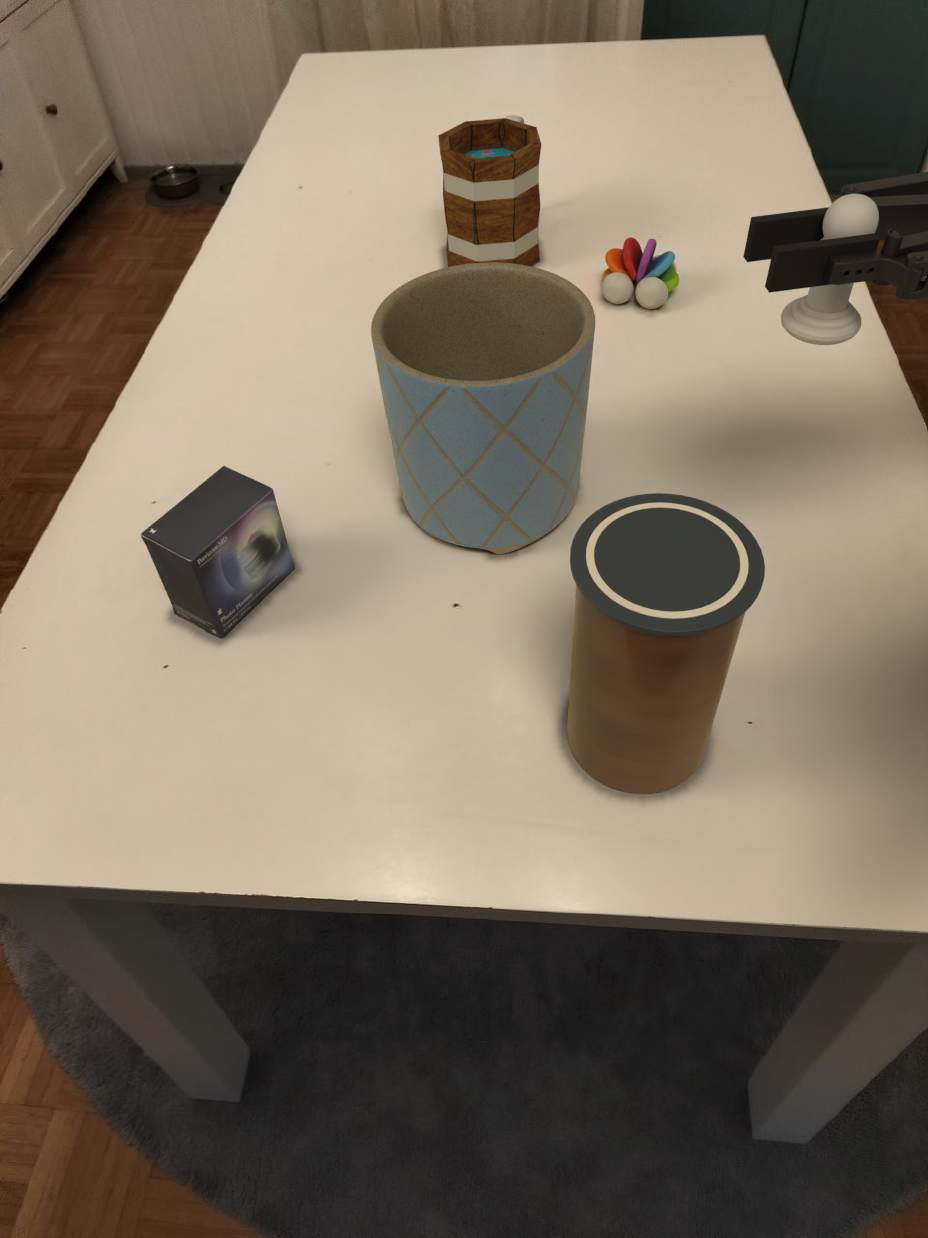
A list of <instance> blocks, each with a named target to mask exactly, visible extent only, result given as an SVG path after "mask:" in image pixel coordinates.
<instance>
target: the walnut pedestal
mask: <svg viewBox="0 0 928 1238" xmlns="http://www.w3.org/2000/svg"><path fill="white" fill-rule="evenodd" d="M574 598H575V600H574V613H573V630H572V643H571V644H572V646H571V659H570V660H571V661H570V677H569V691H568V694H569V695H568V706H567V707H568V709H567V723H566V724H567V727H566V735H567V737H566V738H567V742H568V746H569V748H570V751H571V753H572V755H573V757H574V759H575V761H576V762H577V763H578V764H579V766H580V767H581V769H582V770H583V771H585V773H587V774H588V775H589V776H590V777H591V778H593V779H594V780H596V781H597V782H599V783H600V784H601V785H604V786H607V787H609V788H610V789H613V790H616V791H619V792H623V793H628V794H638V795H646V794H648V795H649V794H656V793H657V794H658V793H661V792H665V791H668V790H671V789H673V788H675V787H678V786H679V785H681V784H682V783H684V782H685V781H686V780H688V779H689V778H691V776H692V775H693V774H694V773H695V771H697V769H698V767H699V766H700V765H701V762H702V760H703V758H704V755H705V751H706V748H707V745H708V741H709V738H710V735H711V731H712V729H713V728H712V727H713V725H714V721H715V718H716V715H717V714H716V713H717V710H718V708H719V703H720V701H721V697H722V694H723V690H724V686H725V683H726V680H727V677H728V676H727V675H728V673H729V670H730V666H731V663H732V660H733V656H734V652H735V649H736V646H737V642H738V639H739V635H740V632H741V629H742V625H743V622H744V619H745V616H746V612H745V613H744V614H743V615H741V616H740V617H739V618H737V619H736V620H734V621H733V622H731V623H729V624H727V625H725V626H723V627H720V628H718V629H715V630H712V631H708V632H704V633H701V634H694V635H684V636H668V635H657V634H651V633H646V632H642V631H638V630H635V629H632V628H629V627H627V626H624V625H621V624H619V623H617V622H615V621H613V620H611V619H610V618H608V617H607V616H605V615H604V614H602V613H601V612H599V611H598V610H597V609H596V608H595V607H593V606H592V605H591V604H590V603H589V602H588V601H587V600H586V598H585V597H584V596H583V595H582V593H581V592H580V590H579V589H578V587H577V585H576V584H575V596H574Z"/></svg>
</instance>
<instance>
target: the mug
mask: <svg viewBox="0 0 928 1238" xmlns="http://www.w3.org/2000/svg"><path fill="white" fill-rule="evenodd" d="M437 137H438V145H439V146H438V147H439V154H440V161H441V165H442V201H443V209H444V211H443V212H444V218H445V224H446V260H447V267H451V266H457V265H463V264H471V263H486V262H497V263H512V264H520V265H526V266H531V267H534V266H535V265H536V264H537V263H540V261H541V257H540V247H539V223H540V215H541V193H540V160H541V153H542V141H541V137H540V135H539V130H538V127H537V126H534V125H531V124H527V123H525V119H524V118H523V117H522V116H518V115H515V114H509V115H507V116H505V117H501V118H491V119H490V118H489V119H479V120H466V121H463V122H462V123H460V124H457V125H456V126H454V127H452V128H450V129H448V130H446V131H444V132H442V133H440V134H438V135H437Z"/></svg>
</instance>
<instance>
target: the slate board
mask: <svg viewBox="0 0 928 1238" xmlns="http://www.w3.org/2000/svg"><path fill="white" fill-rule="evenodd" d="M762 551H763V550H762V548H761V546H760V544H759V542H758V541H757V539H756V538H755V536H754V535H753V533H752V532H751V530H750V529H749V528H748V527H747V526H746V525H745V524H744V523H743V522H741V520H739V519H738V518H737V517H735V516H734V515H732V514H731V513H730V512H729V511H726V510H725V509H723V508H721V507H719V506H717V505H715V504H713V503H710V502H707V501H705V500H702V499H700V498H697V497H692V496H687V495H682V494H675V493H662V492H655V493H654V492H653V493H642V494H635V495H631V496H627V497H623V498H620V499H617V500H613V501H612V502H609V503H607V504H605V505H604V506H602V507H600V508H599V509H597V510H595V511H594V512H592V514H590V515H589V516H588V517H587V518H586V519H585V520H584V521H583V522H582V523H581V525H579V528H578V529H577V531H576V532H575V535H574V536H573V538H572V542H571V546H570V552H569V565H570V566H569V567H570V572H571V575H572V578H573V581H574V583H575V586H576V585H577V587H578V589H579V590H580V592H581V593H582V595H583V596H584V597H585V598H586V600H587V601H588V602H589V603H590V604H591V605H592V606H593V607H595V608H596V609H597V610H598V611H599V612H601V613H602V614H604V615H605V616H607V617H608V618H610V619H611V620H613V621H615V622H617V623H619V624H621V625H624V626H627V627H629V628H632V629H635V630H638V631H642V632H646V633H651V634H657V635H668V636H684V635H694V634H701V633H704V632H708V631H712V630H715V629H718V628H720V627H723V626H725V625H727V624H729V623H731V622H733V621H734V620H736V619H737V618H739V617H740V616H741V615H743V614H744V613H745V614H746V612H747V611H748V610H749V609H750V608H751V607H752V606H753V604H754V603H755V602H756V601H757V599H758V597H759V595H760V593H761V590H762V588H763V584H764V580H765V575H766V574H765V573H766V565H765V558H764V555H763V552H762Z"/></svg>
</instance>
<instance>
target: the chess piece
mask: <svg viewBox="0 0 928 1238" xmlns="http://www.w3.org/2000/svg"><path fill="white" fill-rule="evenodd" d="M839 197H840V196H839ZM839 197H838V198H837V199H835V200H834V201H833V202H832V203H831V204H830V206H828V207H829V208H828V210H827V212H826V214H825V216H824V220H823V234H824V237H823V239H821V240H826V239H834V238H842V237H850V236H858V235H865V234H873V233H875V231H876V229H877V226H878V221H879V212H878V208H877V206H876V204H875V202H874V201H873V200H872V199H870V198H869V197H867V196H865V195H862V194H848V195H845V196H842V197H840V198H839ZM854 285H855V283H854V282H853V283H850V284H847V283H846V284H842V285H824V286H816V287H809V289H808V292H807V294H805V295H803V296H802V297H798V298H796V299H794V300H791V301H790V302H788V303H786V305H785V306H784V308H783V310H782V311H781V313H780V323H781V326H782V328H783V329H784V331H785V332H787V334H788V335H790V336H791V337H792V338H795V340H798V341H801V342H803V343H807V344H811V345H817V346H833V345H834V346H835V345H839V344H843V343H845V342H847V341H850V340H852V339H853V338H854V337H855V336H857V334H858V333H859V331H860V330H861V327H862V316H861V314H860V313H859V310H857V309H856V308H855V306H854V305H853V304H852V303H851V302H850V301H849V300H850V297H851V294H852V290H853V288H854Z"/></svg>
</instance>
